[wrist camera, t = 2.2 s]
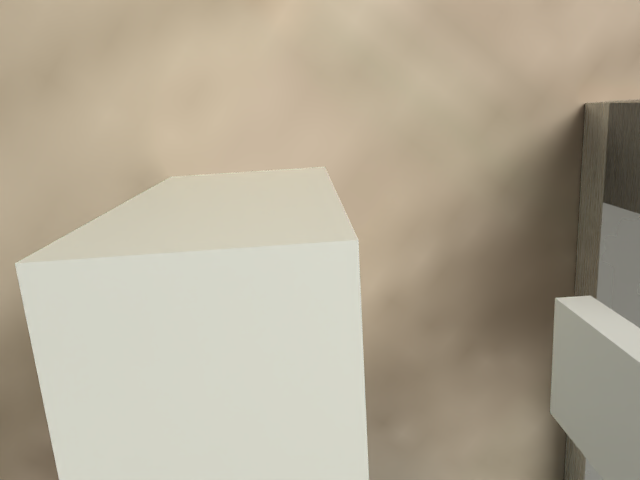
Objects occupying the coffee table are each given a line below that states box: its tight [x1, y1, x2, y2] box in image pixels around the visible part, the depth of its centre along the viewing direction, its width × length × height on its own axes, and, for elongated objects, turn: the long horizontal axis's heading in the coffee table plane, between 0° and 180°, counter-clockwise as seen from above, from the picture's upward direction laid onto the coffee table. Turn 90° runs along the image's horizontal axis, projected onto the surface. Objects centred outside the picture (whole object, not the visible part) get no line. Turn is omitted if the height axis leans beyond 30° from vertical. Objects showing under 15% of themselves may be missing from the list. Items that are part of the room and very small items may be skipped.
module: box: [15, 167, 369, 480], centre depth 14 cm, size 5×7×10 cm
